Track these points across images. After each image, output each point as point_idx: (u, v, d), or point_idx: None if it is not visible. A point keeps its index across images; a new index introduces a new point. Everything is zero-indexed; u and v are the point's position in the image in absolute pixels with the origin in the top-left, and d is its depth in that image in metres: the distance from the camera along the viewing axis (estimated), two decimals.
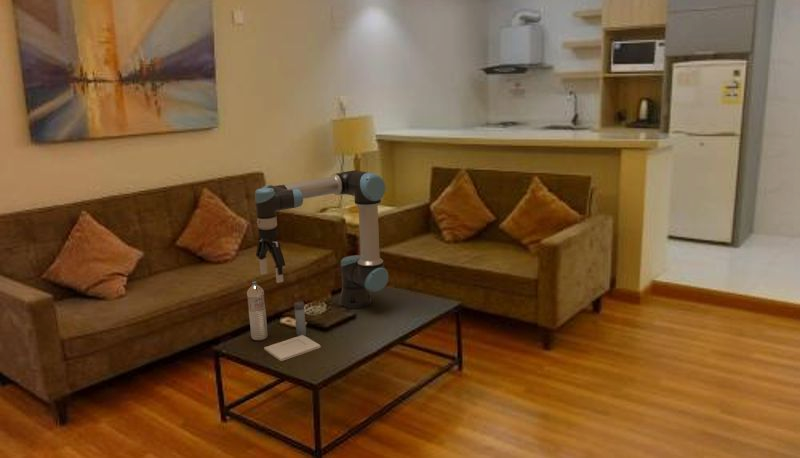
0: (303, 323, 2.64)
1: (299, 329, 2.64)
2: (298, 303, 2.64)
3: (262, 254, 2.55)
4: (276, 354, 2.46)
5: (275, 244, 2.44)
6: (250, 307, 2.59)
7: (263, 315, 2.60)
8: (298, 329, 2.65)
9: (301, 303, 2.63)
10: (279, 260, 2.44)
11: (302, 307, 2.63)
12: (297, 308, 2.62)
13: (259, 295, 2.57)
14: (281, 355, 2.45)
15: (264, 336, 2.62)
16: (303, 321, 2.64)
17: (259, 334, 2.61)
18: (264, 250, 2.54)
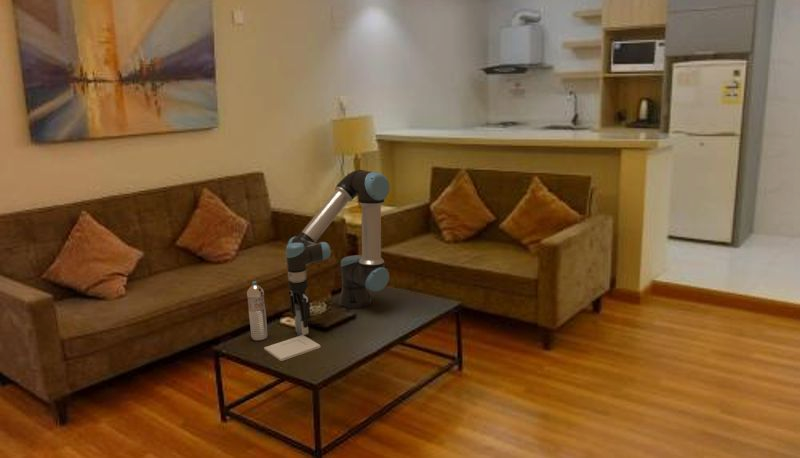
0: None
1: (299, 330, 2.64)
2: None
3: None
4: (276, 354, 2.46)
5: (305, 300, 2.57)
6: (250, 307, 2.59)
7: (263, 315, 2.60)
8: (299, 329, 2.64)
9: None
10: (306, 315, 2.59)
11: None
12: (298, 308, 2.61)
13: (259, 295, 2.57)
14: (281, 355, 2.45)
15: (264, 336, 2.62)
16: None
17: (259, 334, 2.61)
18: None
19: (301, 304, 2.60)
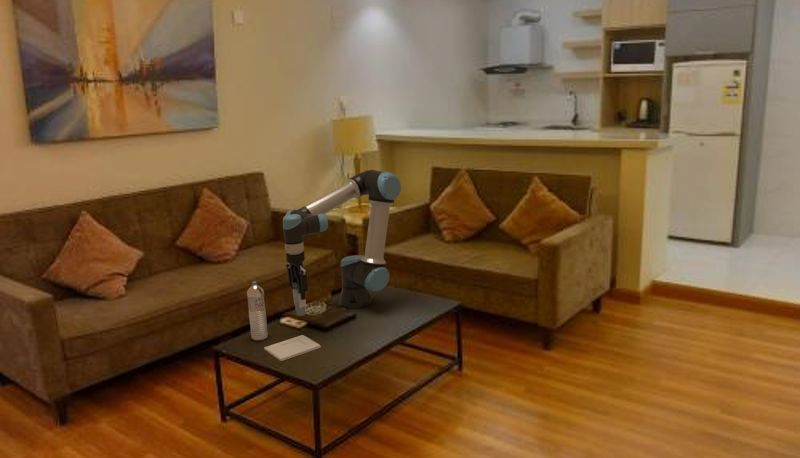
0: None
1: (298, 309, 2.62)
2: None
3: None
4: (276, 354, 2.46)
5: (303, 273, 2.54)
6: (250, 307, 2.59)
7: (263, 315, 2.60)
8: (297, 309, 2.62)
9: None
10: (303, 287, 2.57)
11: None
12: (296, 287, 2.60)
13: (259, 295, 2.57)
14: (281, 355, 2.45)
15: (264, 336, 2.62)
16: None
17: (259, 334, 2.61)
18: (294, 276, 2.62)
19: (298, 276, 2.58)
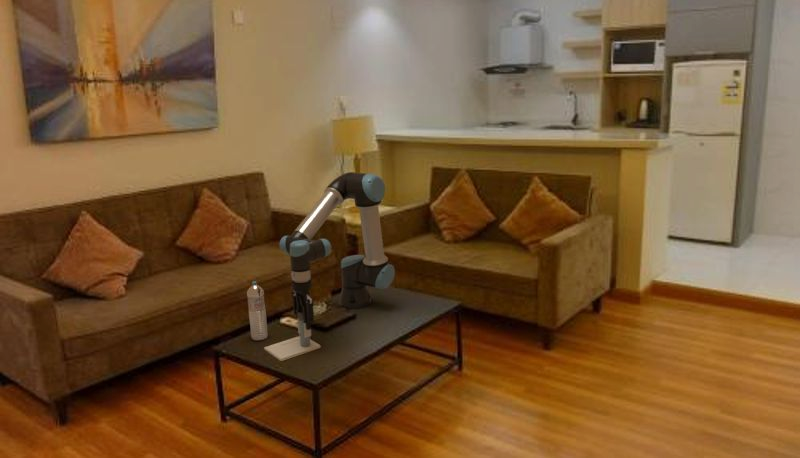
0: None
1: (303, 340, 2.51)
2: (302, 313, 2.50)
3: (299, 310, 2.52)
4: (276, 354, 2.46)
5: (309, 302, 2.44)
6: (250, 307, 2.59)
7: (263, 315, 2.60)
8: (302, 340, 2.52)
9: None
10: (309, 317, 2.46)
11: None
12: (301, 318, 2.49)
13: (259, 295, 2.57)
14: (281, 355, 2.45)
15: (264, 336, 2.62)
16: None
17: (259, 334, 2.61)
18: (300, 305, 2.51)
19: (304, 305, 2.47)
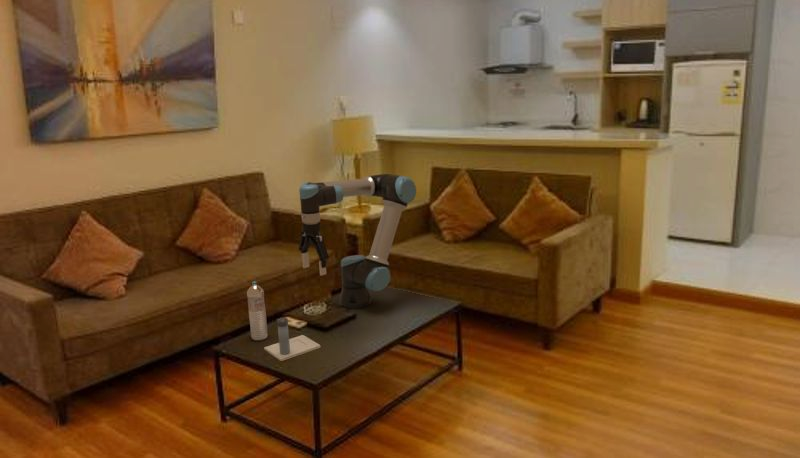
0: (287, 341, 2.45)
1: (282, 348, 2.45)
2: (281, 319, 2.44)
3: (305, 248, 2.66)
4: (276, 354, 2.46)
5: (319, 238, 2.55)
6: (250, 307, 2.59)
7: (263, 315, 2.60)
8: (281, 347, 2.45)
9: (284, 320, 2.44)
10: (323, 253, 2.55)
11: (285, 324, 2.43)
12: (280, 325, 2.43)
13: (259, 295, 2.57)
14: (281, 355, 2.45)
15: (264, 336, 2.62)
16: (287, 338, 2.45)
17: (259, 334, 2.61)
18: (307, 244, 2.64)
19: (316, 245, 2.58)
